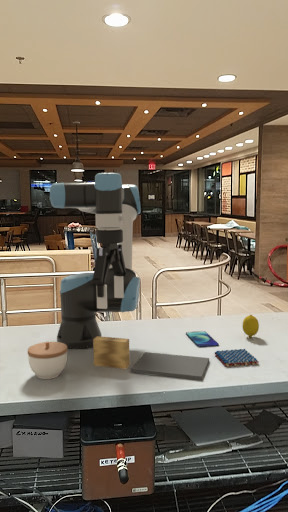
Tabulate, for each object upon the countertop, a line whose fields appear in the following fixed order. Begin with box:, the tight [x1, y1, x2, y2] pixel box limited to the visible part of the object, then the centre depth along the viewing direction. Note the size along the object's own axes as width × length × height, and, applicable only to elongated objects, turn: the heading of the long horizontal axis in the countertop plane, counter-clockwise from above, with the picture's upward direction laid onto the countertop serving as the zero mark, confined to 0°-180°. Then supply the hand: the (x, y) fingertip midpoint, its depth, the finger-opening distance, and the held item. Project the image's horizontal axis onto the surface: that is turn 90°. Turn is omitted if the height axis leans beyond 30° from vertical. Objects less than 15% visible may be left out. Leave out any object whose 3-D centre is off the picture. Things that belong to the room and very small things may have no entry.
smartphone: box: [185, 330, 220, 348], centre depth 147 cm, size 8×1×15 cm
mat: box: [130, 351, 210, 381], centre depth 123 cm, size 20×14×1 cm
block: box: [92, 335, 131, 370], centre depth 124 cm, size 10×3×8 cm, turn 73°
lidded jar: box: [27, 341, 68, 380], centre depth 118 cm, size 11×11×9 cm
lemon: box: [242, 314, 260, 338], centre depth 148 cm, size 6×6×8 cm
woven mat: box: [213, 348, 259, 368], centre depth 128 cm, size 10×11×2 cm
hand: (111, 302), depth 122 cm, fingers open, 13 cm apart
